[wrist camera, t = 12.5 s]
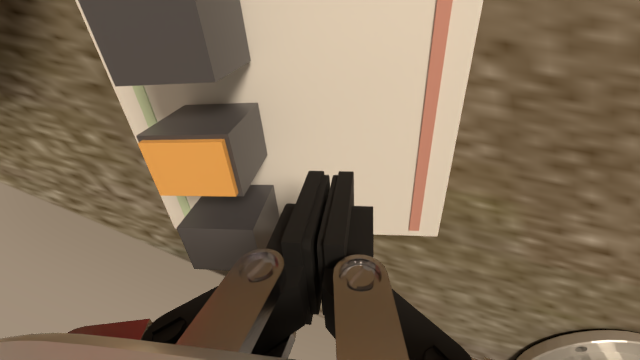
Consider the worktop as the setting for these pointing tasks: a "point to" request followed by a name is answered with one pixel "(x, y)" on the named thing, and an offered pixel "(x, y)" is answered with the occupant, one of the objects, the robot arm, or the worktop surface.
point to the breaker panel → (300, 100)
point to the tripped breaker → (205, 150)
